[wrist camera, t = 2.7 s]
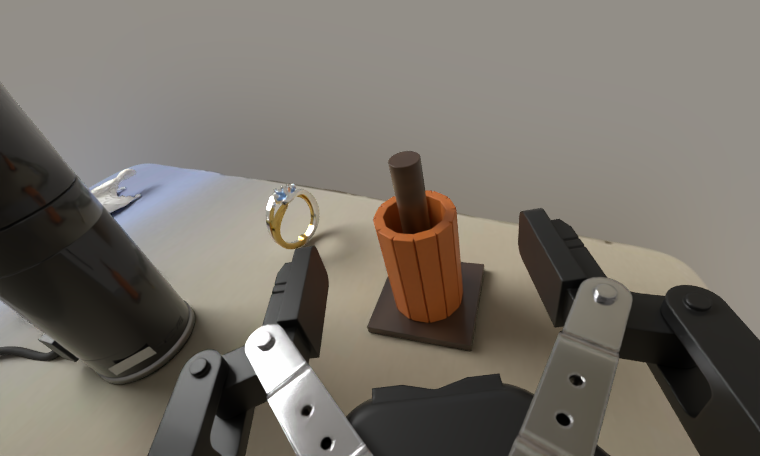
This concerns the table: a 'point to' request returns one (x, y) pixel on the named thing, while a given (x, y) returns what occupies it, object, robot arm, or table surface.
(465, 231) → the table surface
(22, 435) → the table surface
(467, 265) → the brown peg stand
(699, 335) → the robot arm
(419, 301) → the orange stave barrel
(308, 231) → the ring
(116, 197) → the white dragon
